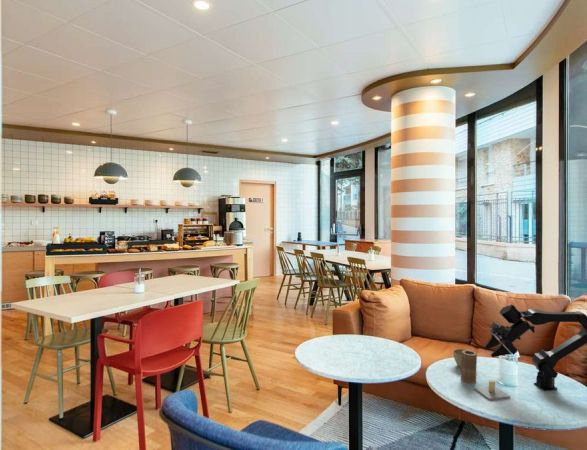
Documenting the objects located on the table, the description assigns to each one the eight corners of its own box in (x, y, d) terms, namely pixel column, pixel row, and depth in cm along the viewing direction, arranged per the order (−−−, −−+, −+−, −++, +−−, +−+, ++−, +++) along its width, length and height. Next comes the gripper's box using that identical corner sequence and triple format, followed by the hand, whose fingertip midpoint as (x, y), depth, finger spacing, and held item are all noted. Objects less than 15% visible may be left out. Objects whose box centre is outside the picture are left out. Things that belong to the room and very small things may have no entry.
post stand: (493, 387, 174) (494, 375, 174) (510, 398, 164) (510, 385, 164) (473, 389, 172) (474, 377, 172) (489, 400, 162) (489, 388, 162)
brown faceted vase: (470, 376, 184) (471, 349, 183) (478, 382, 178) (479, 354, 177) (458, 377, 183) (459, 350, 182) (466, 383, 177) (467, 355, 176)
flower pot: (448, 363, 199) (448, 350, 198) (464, 361, 202) (464, 347, 201) (462, 372, 189) (462, 357, 189) (478, 369, 192) (479, 355, 192)
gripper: (496, 311, 185) (470, 332, 188) (510, 323, 167) (481, 346, 169) (513, 329, 184) (486, 349, 187) (529, 343, 166) (500, 366, 168)
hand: (488, 352), depth 178 cm, fingers open, 9 cm apart
